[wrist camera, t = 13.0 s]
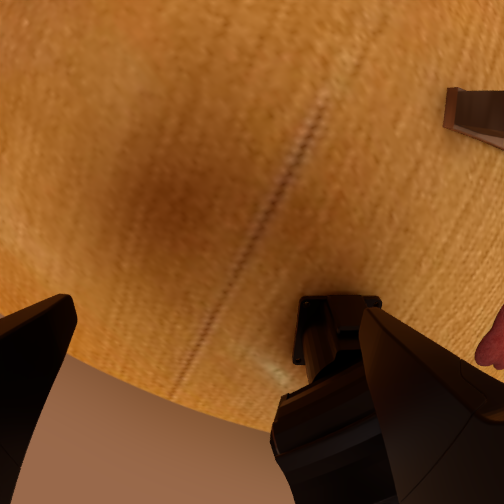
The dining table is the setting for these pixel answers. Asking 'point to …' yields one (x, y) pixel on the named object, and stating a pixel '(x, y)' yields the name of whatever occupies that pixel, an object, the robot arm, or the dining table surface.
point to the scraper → (476, 114)
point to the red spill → (492, 345)
